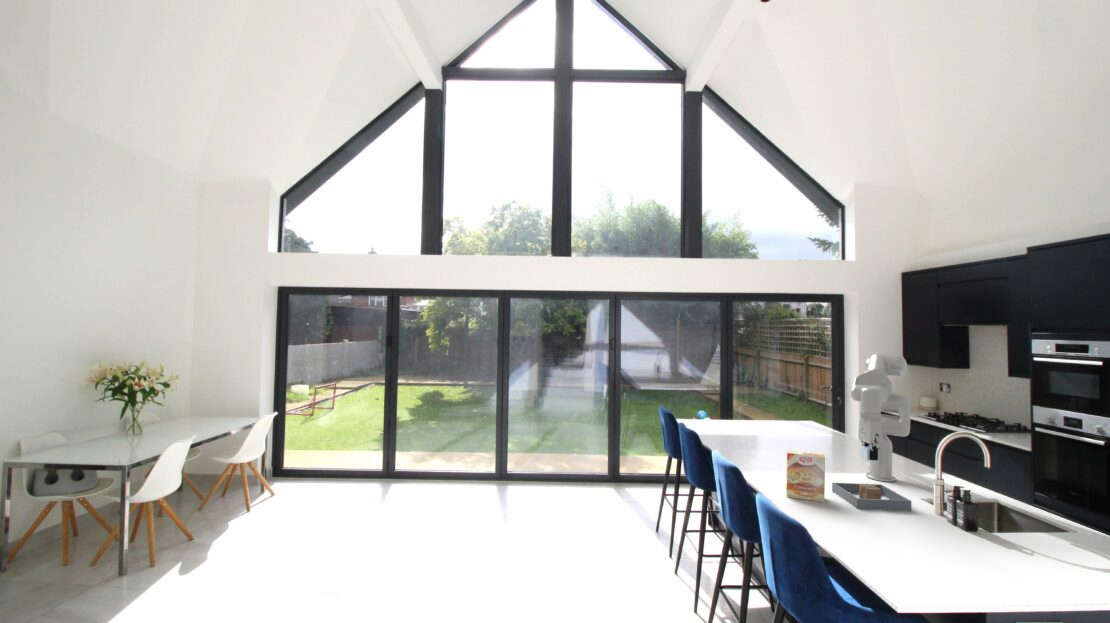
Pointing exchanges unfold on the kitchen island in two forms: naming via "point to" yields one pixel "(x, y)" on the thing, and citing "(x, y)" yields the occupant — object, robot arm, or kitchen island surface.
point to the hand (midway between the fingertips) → (870, 457)
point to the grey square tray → (884, 504)
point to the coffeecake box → (805, 475)
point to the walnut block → (869, 492)
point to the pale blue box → (867, 453)
